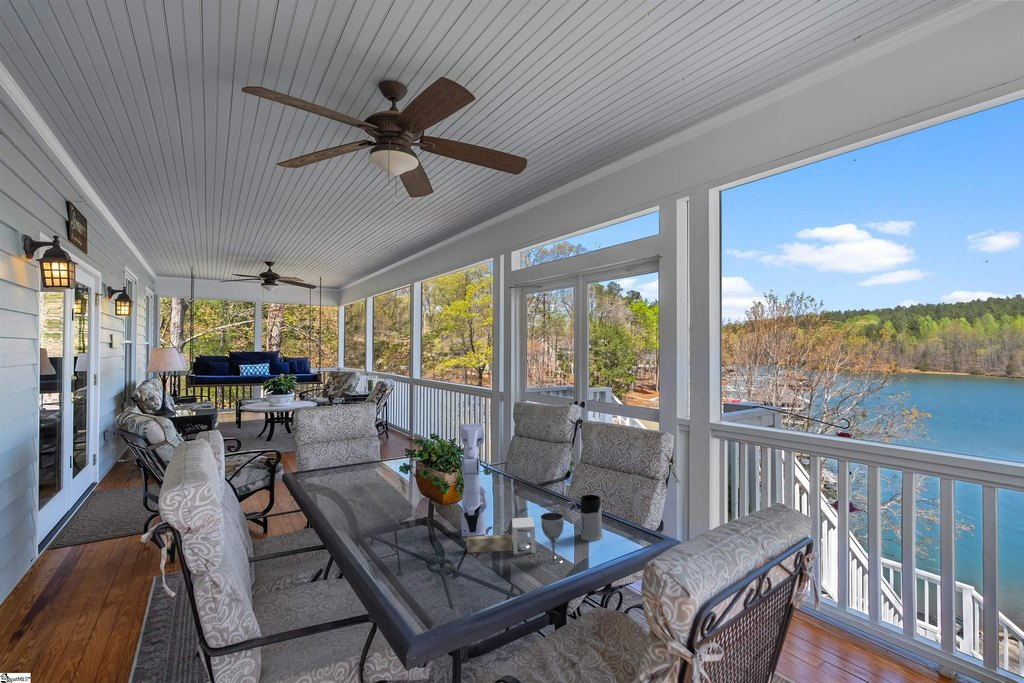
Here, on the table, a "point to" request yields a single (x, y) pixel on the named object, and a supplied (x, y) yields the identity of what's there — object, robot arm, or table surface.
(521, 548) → the steel disc
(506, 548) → the push stick
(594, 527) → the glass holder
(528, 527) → the small white stool
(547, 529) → the wine glass
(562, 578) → the table surface
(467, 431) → the robot arm
